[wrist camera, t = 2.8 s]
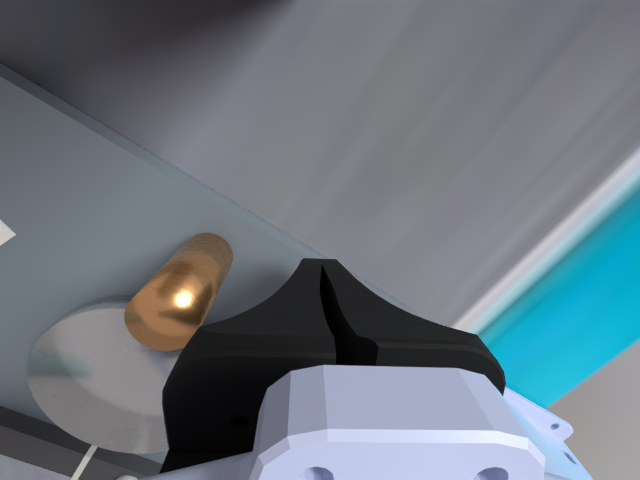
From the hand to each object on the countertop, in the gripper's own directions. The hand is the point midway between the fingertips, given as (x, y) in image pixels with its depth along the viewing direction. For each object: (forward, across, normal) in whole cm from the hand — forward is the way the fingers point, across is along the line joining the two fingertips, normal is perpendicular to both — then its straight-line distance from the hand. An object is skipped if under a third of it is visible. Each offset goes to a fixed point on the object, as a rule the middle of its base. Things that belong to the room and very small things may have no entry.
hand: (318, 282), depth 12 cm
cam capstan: (+1, +7, +4) cm, 8 cm away
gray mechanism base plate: (+3, +8, +6) cm, 10 cm away
